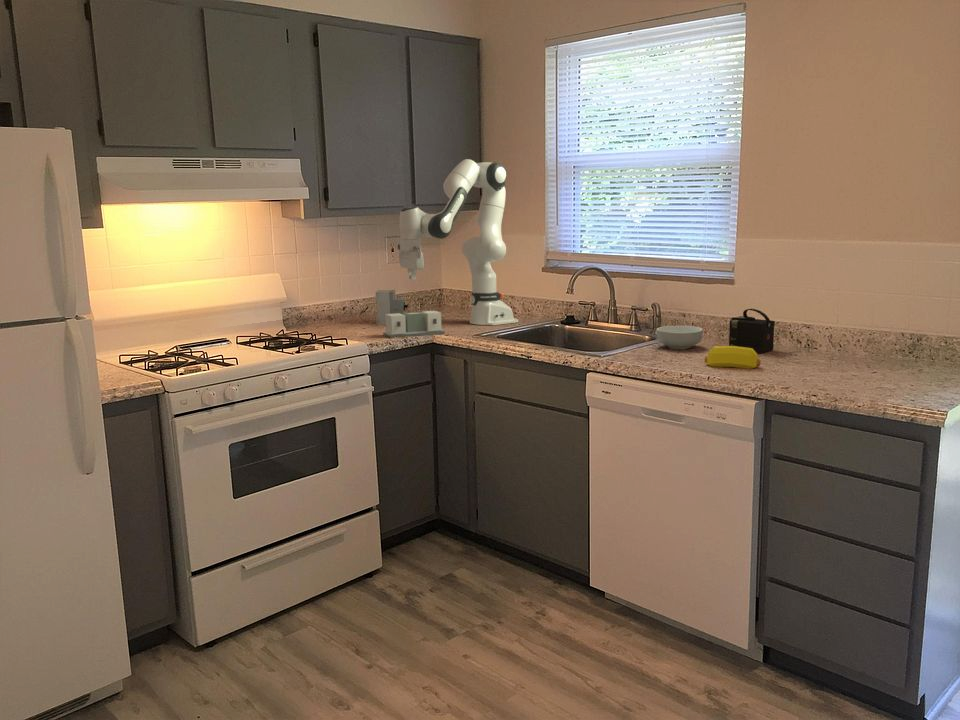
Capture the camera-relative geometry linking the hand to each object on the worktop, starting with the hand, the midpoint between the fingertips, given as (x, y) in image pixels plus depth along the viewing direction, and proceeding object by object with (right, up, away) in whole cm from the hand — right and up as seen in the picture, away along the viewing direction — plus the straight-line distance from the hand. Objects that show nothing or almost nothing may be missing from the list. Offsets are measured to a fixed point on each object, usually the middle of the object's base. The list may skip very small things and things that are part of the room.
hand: (412, 279), depth 345 cm
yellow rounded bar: (+111, -36, -74) cm, 139 cm away
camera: (+127, -30, -45) cm, 138 cm away
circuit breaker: (-12, -17, +37) cm, 43 cm away
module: (0, -22, +3) cm, 22 cm away
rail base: (0, -23, +3) cm, 23 cm away
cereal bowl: (+103, -29, -38) cm, 113 cm away
